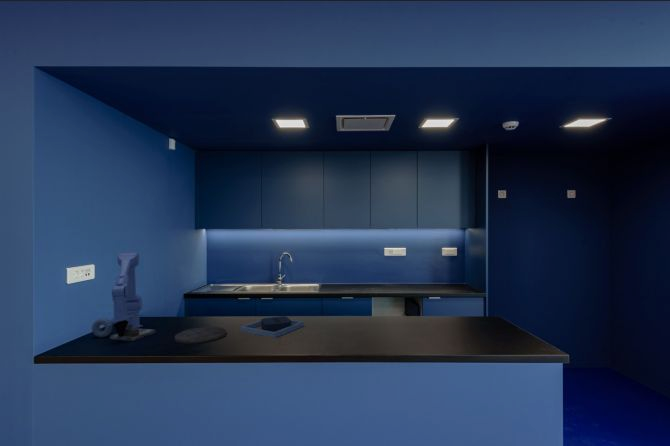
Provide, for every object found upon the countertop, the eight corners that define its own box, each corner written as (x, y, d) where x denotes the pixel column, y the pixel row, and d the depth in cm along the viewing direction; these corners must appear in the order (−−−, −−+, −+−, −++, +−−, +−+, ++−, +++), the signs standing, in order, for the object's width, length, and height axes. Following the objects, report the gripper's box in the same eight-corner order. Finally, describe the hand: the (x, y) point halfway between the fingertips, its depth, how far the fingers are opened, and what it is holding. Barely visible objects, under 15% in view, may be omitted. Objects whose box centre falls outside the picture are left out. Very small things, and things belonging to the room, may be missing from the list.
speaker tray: (240, 331, 201) (240, 326, 201) (271, 321, 221) (270, 317, 221) (274, 337, 188) (274, 332, 188) (303, 326, 209) (303, 321, 209)
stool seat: (109, 338, 194) (109, 330, 194) (133, 330, 208) (133, 322, 208) (132, 340, 189) (132, 332, 189) (155, 332, 203) (155, 324, 203)
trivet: (235, 335, 195) (235, 332, 195) (189, 348, 176) (188, 344, 176) (211, 327, 212) (211, 324, 212) (166, 338, 193) (166, 334, 193)
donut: (114, 335, 199) (113, 316, 199) (110, 337, 195) (110, 318, 196) (94, 336, 198) (94, 317, 198) (90, 338, 195) (90, 319, 195)
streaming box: (292, 331, 200) (292, 321, 200) (265, 334, 195) (265, 324, 195) (285, 324, 214) (285, 315, 214) (260, 328, 208) (260, 318, 208)
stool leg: (116, 334, 195) (116, 327, 195) (121, 333, 198) (121, 325, 198) (134, 336, 191) (134, 328, 191) (139, 334, 194) (138, 327, 194)
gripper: (113, 313, 181) (114, 341, 181) (138, 306, 195) (138, 332, 195) (102, 312, 183) (103, 340, 183) (127, 305, 197) (128, 331, 197)
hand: (120, 336), depth 189 cm, fingers closed
